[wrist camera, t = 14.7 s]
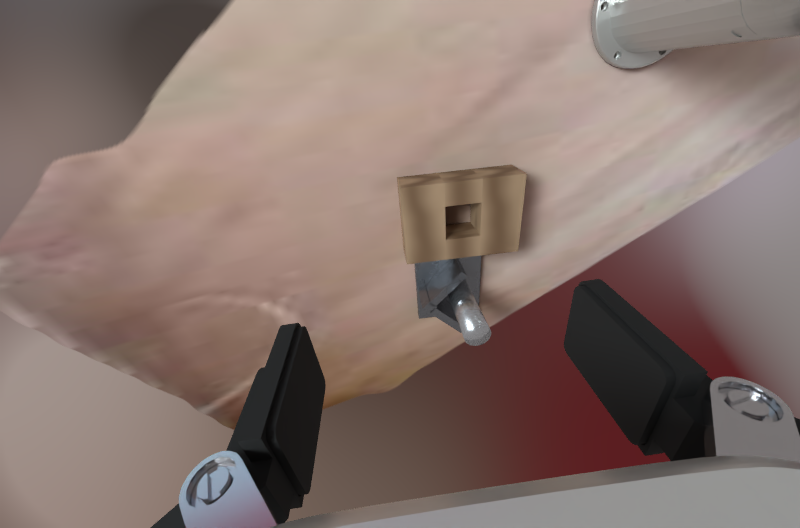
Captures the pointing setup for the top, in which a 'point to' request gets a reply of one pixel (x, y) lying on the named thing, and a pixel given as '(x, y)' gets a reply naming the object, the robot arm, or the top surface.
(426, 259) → the wooden block with hole
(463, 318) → the axle
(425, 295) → the v block
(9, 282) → the top surface
